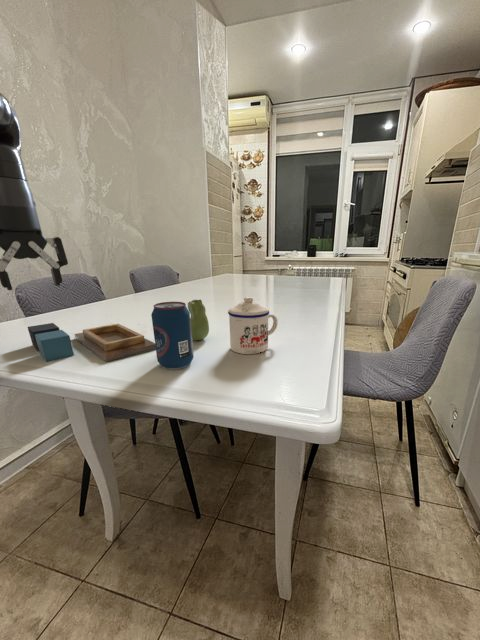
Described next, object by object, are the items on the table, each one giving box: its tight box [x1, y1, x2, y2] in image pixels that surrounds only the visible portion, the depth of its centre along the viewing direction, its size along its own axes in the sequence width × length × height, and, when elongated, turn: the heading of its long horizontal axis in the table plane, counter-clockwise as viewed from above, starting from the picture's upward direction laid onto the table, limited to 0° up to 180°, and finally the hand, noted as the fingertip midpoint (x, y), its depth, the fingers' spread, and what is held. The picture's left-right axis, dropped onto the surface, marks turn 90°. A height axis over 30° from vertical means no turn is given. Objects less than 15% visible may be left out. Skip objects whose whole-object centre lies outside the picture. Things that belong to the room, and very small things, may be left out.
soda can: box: [150, 301, 194, 371], centre depth 56 cm, size 7×7×12 cm
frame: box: [74, 323, 156, 363], centre depth 69 cm, size 11×22×3 cm, turn 46°
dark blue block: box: [27, 322, 61, 352], centre depth 68 cm, size 5×6×4 cm
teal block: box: [35, 329, 75, 362], centre depth 62 cm, size 5×6×4 cm
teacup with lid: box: [227, 296, 279, 355], centre depth 65 cm, size 12×9×12 cm
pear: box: [187, 299, 210, 341], centre depth 71 cm, size 6×5×10 cm
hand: (34, 287), depth 64 cm, fingers open, 8 cm apart
